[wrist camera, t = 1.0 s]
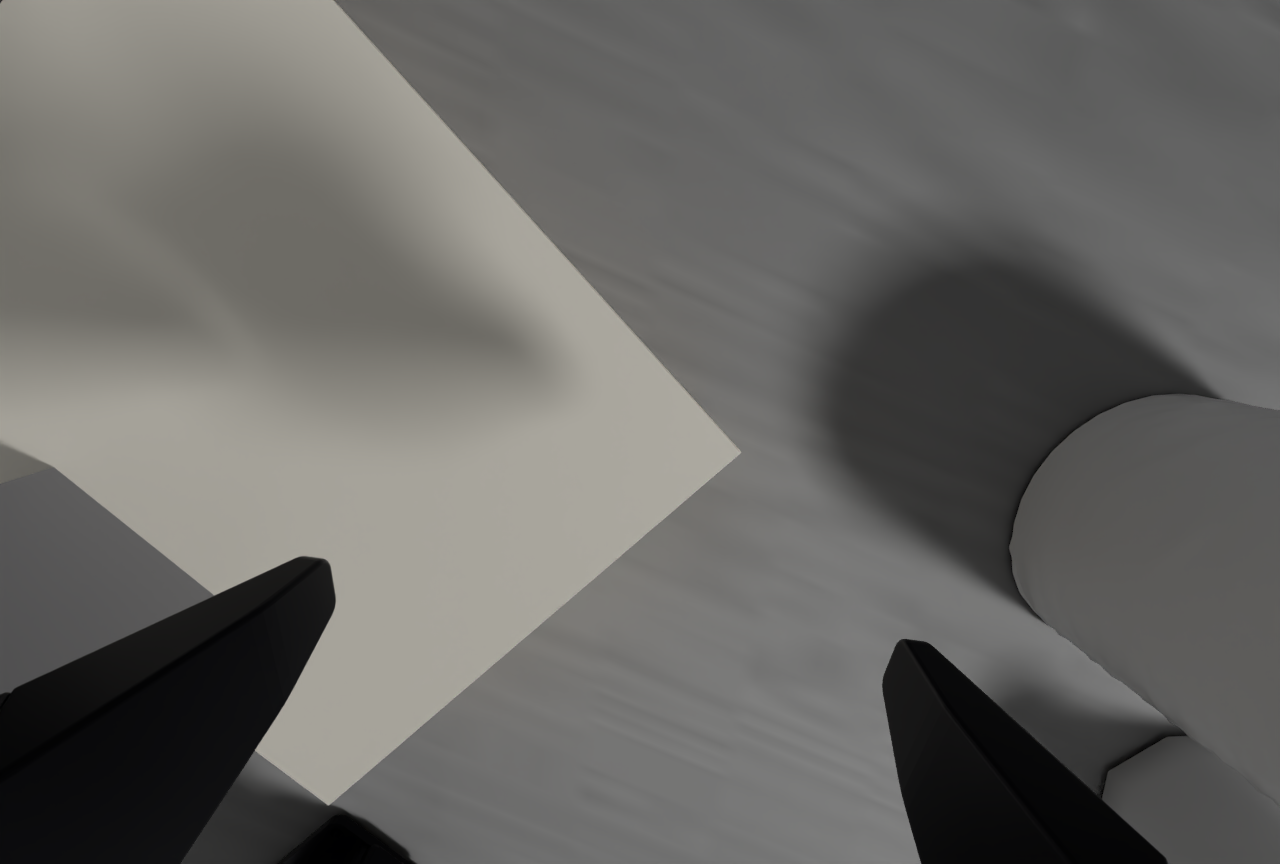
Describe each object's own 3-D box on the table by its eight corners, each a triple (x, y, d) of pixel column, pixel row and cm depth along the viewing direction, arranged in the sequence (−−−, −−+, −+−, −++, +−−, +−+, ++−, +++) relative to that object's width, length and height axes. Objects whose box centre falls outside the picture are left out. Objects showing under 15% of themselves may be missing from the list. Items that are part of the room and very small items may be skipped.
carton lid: (338, 788, 18) (214, 1005, 13) (-236, 355, 14) (-759, 395, 9) (737, 446, 16) (798, 529, 10) (176, -175, 12) (-190, -559, 7)
